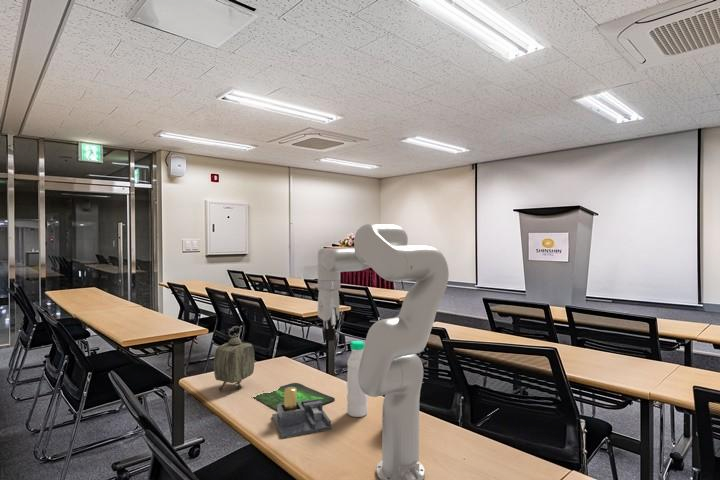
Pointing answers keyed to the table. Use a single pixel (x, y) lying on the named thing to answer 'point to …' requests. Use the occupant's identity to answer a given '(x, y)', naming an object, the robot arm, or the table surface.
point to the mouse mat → (301, 395)
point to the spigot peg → (290, 398)
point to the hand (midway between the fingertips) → (329, 340)
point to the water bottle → (355, 383)
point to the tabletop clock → (233, 361)
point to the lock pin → (315, 413)
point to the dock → (300, 419)
